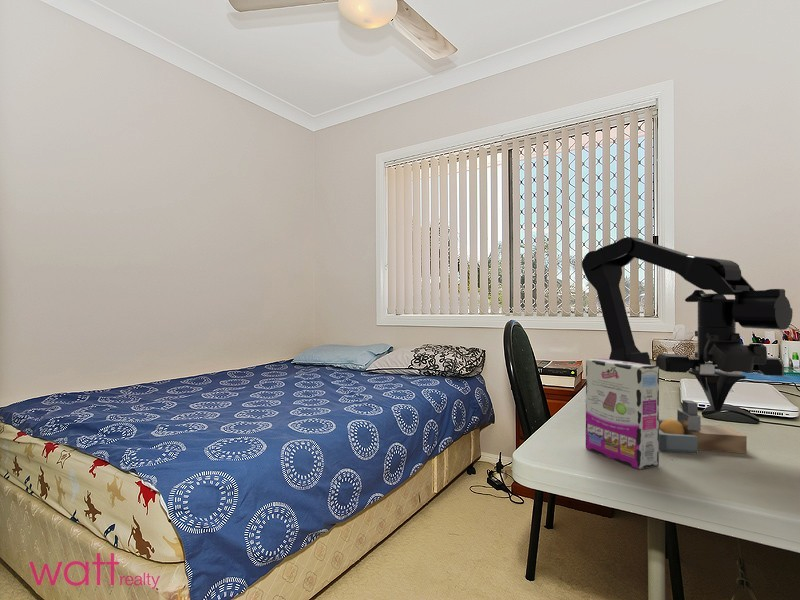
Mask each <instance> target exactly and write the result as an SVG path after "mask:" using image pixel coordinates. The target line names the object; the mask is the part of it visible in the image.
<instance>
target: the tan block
mask: <svg viewBox="0 0 800 600" xmlns="http://www.w3.org/2000/svg"><path fill="white" fill-rule="evenodd" d="M684 435H695V436H697V451H698V450H699V451H709V452H710V451H711V452H712V451H714V452H722V453H723V452H725V453H726V452H727V453H740V454H741V453H742V454H747V452H748V451H747V448H748V447H747V442H748V441H747V437H748V436H747V435H746V434H743V433H741V432H740V431H738V430H736V429H734V428H732V427H730V426H726V425H725V426H723V425H711V424H710V425H708V424H701V431H696V430H687V429H686V428H684Z"/></svg>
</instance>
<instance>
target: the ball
mask: <svg viewBox="0 0 800 600" xmlns="http://www.w3.org/2000/svg"><path fill="white" fill-rule="evenodd" d="M663 420H664V421H663V422H662V423H661V424H660V430H661V431H662V432H663V433H667V434H683V435H684V427H683V426H682V424H681V423H680V422H678V421H677V419H674V418H666V419H663Z"/></svg>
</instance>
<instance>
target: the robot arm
mask: <svg viewBox="0 0 800 600" xmlns="http://www.w3.org/2000/svg"><path fill="white" fill-rule="evenodd" d="M634 259H638V260H641V261H644V262H646V263H649V264H650V265H651V264H652V265H655V266H657V267H660V268H663V269H666V270H669V271H671V272H674V273H675V274H677V275H679V276H680V277H681V278H682V279H684V280H685V281H686V282H688V283H689V284H692V285H693V286H695V287H696V288H698V289H695V290H694V291H693V292H692V293H691V294H690V295H689V296H687V297H686V298H685V299H684V301H685V302H687V303H697V330H694V337H697V351H695V352H694V358H689V356H686V355H683V354H680V353H679V354H678V353H677V354H676V353H659V354H658V355H657V356H656V357H655V366H659V370H662V371H663V372H667V373H685V374H686V373H687V372H688V374H690V375H693V376H694V377H695V378H696V380H697V381H698V383H699V384H700V386H701V388H702V390H703V392H704V394H705V396H706V399H707V401H708V403H709V405H710V407H711V410H713V411H714V412H721V410H722V409H723V406H724V403H725V401H726V399H727V397H728V395H729V393H730V392H731V389H732V387H733V386H734V385H735V384H736V383H737V382H738V381H740V380H746V378H747V376H746V375H743V372H744V373H746V374H751V373H753V371H755V372H757V371H758V372H760V373H761V374H762V375H763V376H776V377H777V376H779V377H783V376H785V370H784V369H785V368H784V367H785V366H784V364H783V362H782V361H781V360H780V359H779V358H773V357H770V356H769V357H768V351H767V350H768V347H767V346H766V345H765V344H763V343H750V344H742V342H741V335H740V333H739V332H736V331H737V327H736V323H738V324H739V326H740V327H741V328H743V329H761V330H780V331H781V330H787V329H788V328H789V327H790V325H791V323H792V321H793V313H794V312H793V308H792V307H791V302H790V301H789V299H788V298H787V296H786V290H785V289H784V288H768V289H764V290H763V289H762V290H760V289H759V290H755V288H753V286H752V285H751V284H750V283H749V282H748V281H747V280H746V278H744V277H743V275H742V270H741V268H740V264H738V263H737V262H736V261H733V260H729V259H722V258H721V259H720V258H714V257H713V258H712V257H706V256H698V255H697V256H696V255H692V254H687V253H685V252H683V251H678V250H675V249H672V248H668V247H665V246H663V245H659V244H656V243H653V242H650V241H646V240H644V239H643V238H641V237H633V236H624V237H623V238H620V239H619V240H617V241H616V242H613V243H610V244H608V245H605V246H603V247H600V248H598V249H596V250H591V251H588V252H587V253H586V254H585V255H584V257H583V259H582V260H581V267H582V270H583V273H584V275H585V278H586V280H587V281H588V282H589V284H590V285H592V287H593V288H594V289H595V291H596V294H597V299H598V302H599V305H600V309H601V310H600V311H601V314H602V317H603V321H604V326H605V329H606V333H607V337H608V341H609V345H610V350H611V351H610V355H609V357H608V359H610V360H617V361H625V362H632V363H640V364H646V365H652V363H651V357H650V354H649V352H647V351H641V350H640V349H639V348H638V347H637V345H636V343H635V340H634V335H633V333H632V328H631V325H630V321H629V318H628V314H627V310H626V306H625V303H624V300H623V296H622V292H621V288H620V283H621V279H622V275H623V267H625V266H627V265H629V264H630V263H631V262H632V261H633V260H634ZM704 290H705V291H713V292H714V293H706V292H705V291H704ZM726 296H734V298H729V299H728V298H727V297H726Z"/></svg>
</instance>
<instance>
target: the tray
mask: <svg viewBox="0 0 800 600" xmlns="http://www.w3.org/2000/svg"><path fill="white" fill-rule="evenodd" d="M664 420H665V419H662V418H661V419H660V418H659V452H664V453H665V452H666V453H677V454H693V455H697V454H698V450H697V436H695V435H683V434H667V433H663V432H662V431H661V430H660V424H661V423H662V422H663V421H664Z"/></svg>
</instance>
